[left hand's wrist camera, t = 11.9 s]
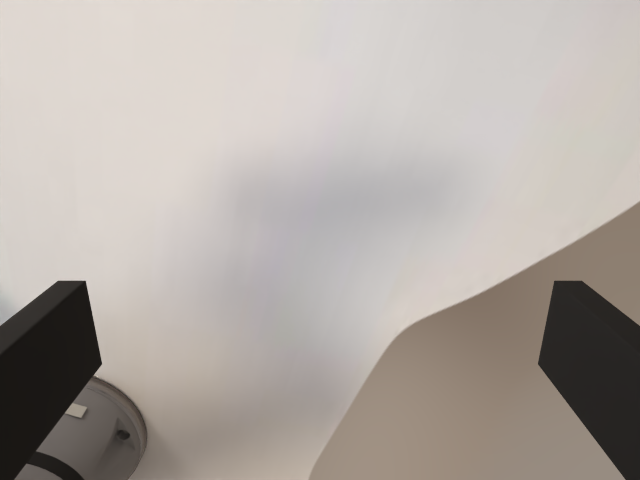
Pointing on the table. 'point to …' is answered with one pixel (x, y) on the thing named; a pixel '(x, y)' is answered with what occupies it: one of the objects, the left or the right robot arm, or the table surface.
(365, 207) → the table surface
